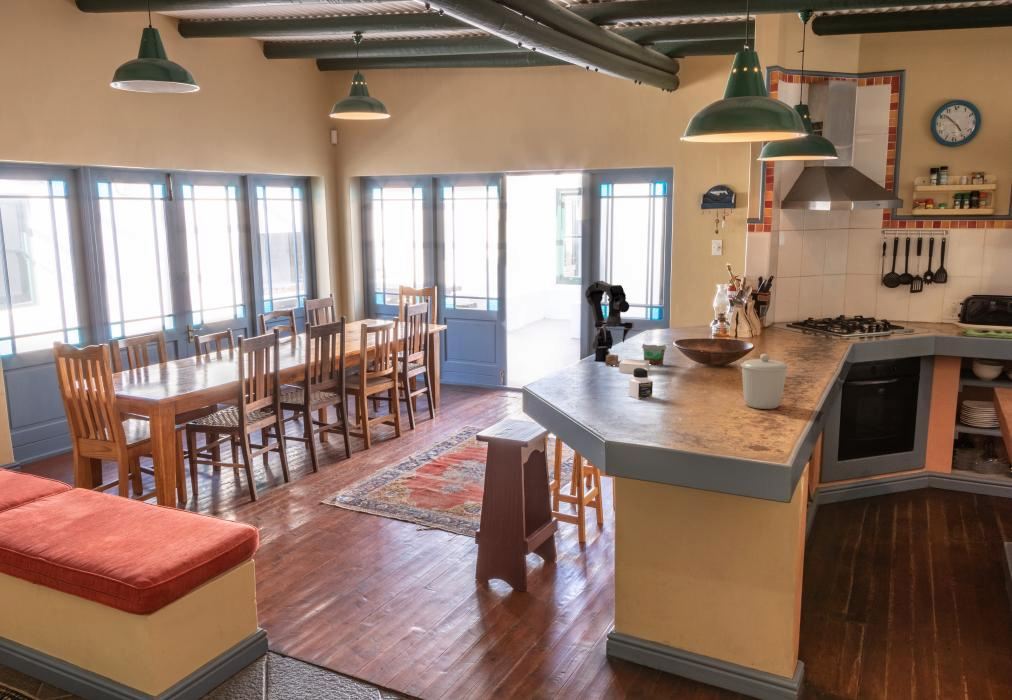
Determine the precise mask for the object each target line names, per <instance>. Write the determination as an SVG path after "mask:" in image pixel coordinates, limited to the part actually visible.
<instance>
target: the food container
mask: <svg viewBox="0 0 1012 700" xmlns="http://www.w3.org/2000/svg"><path fill="white" fill-rule="evenodd" d="M641 348H642V350H643V360H648V361H649V364H651V365H650V366H660V365H659V364H662V365H663V364H664V357H665V352H666V350H667V346H666V344H664V345H663V344H662V345H656V344H645V343H643V344H642V346H641Z"/></svg>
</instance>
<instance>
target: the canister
mask: <svg viewBox="0 0 1012 700" xmlns="http://www.w3.org/2000/svg"><path fill="white" fill-rule="evenodd" d="M740 367H741V375H742V377H741V378H742V391H743V399H744V403H745V405H747V406H748V407H750V408H754V409H758V410H773V409H776V408H778V407H779V406H780V405H781V402H782V399H783V398H782V397H783V394H784V393H783V392H784V389H785V388H784V387H785V383H786V378H787V377H786V376H787V371H788V370H789V368H790V367H789V365H786V363H785V362H783V361H778V360H773V359H770V355H769V354H767V353H762V354H760V356H759V358H754V359H752V358H751V359H748V360H747V359H746V360H745V361H743V362H741V363H740Z"/></svg>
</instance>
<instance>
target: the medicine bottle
mask: <svg viewBox="0 0 1012 700" xmlns="http://www.w3.org/2000/svg"><path fill="white" fill-rule="evenodd" d="M632 377H633V378H631V379H628V397H630V396H632V397H631V398H633V397H634V398H633V399H636V398H637V399H636V400H641V399H640V398H646V399H648V398H647V397H652V398H653V384H654V383H653V380H650V379H649V371H648V369H646V368H636V369H634V374H633V376H632Z"/></svg>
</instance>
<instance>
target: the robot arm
mask: <svg viewBox="0 0 1012 700" xmlns="http://www.w3.org/2000/svg"><path fill="white" fill-rule="evenodd" d="M605 293H606V294H605ZM604 294H605V295H606V296H608V298H607V301H608V316H607V319H606V322H605V317H604V312H603V308H602V304H601V303H602V300H603V296H604ZM584 295H585V299H586V302H587V303H588V304H589V305H590V306H591V309H592V314H593V318H594V328H595V329H596V333H595V336H594V341H593V343H592V349H594V350H595V351H594V352H595V355H594V356H595V358H594V359H593V361H594V362H603V361H606V356H607V355H608V354H610V353H611V352H610V350H611V349H612V348H613V343H614V340H613V336H612V331H611V330H609V329H607V328H610V327H611V328H617V327H619V328H620V327H621V328H622V327H623V332H622V333H623V335H622V343H624V342H625V341H626V337H627V335H628V334H629V331H630V330H632V329H633V328H635V323H634V322H633V321H625V322H622V317H621V314H622V313H627V312H628V311H629V309H630V305H629V302H628V301H627V295H626V293H625V290H624V288H623V286H622V285H621V284H610V283H608V282H605V281H604V280H596V281H595V280H594V282H593V283H592V284H591V285H590V286H588V287H587V289H586V290H585V293H584ZM610 355H611V354H610Z"/></svg>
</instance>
